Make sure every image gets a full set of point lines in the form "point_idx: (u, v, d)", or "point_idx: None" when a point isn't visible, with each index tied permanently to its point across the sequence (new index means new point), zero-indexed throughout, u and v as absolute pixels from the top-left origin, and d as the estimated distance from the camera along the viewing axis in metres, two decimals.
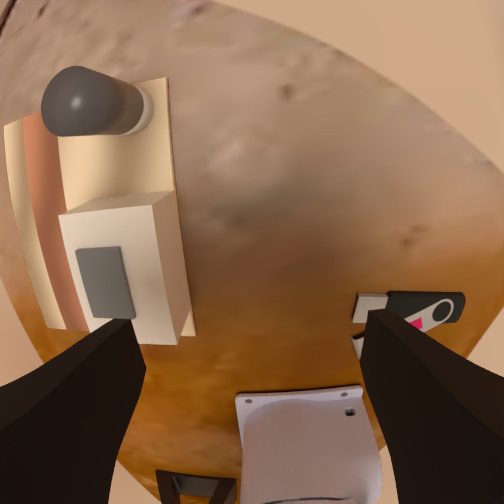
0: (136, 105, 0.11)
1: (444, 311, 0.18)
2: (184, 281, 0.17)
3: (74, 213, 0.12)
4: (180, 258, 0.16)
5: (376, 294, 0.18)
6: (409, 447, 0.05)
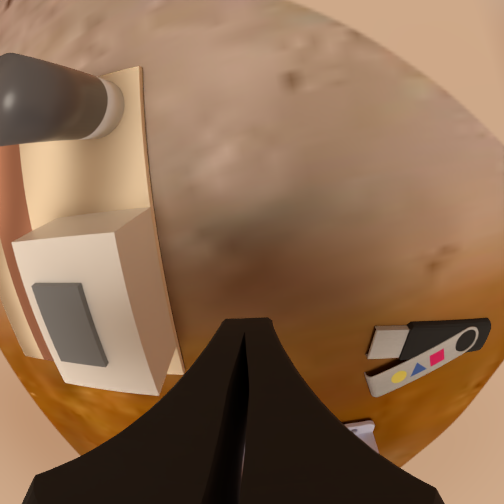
0: (95, 100, 0.08)
1: (468, 340, 0.14)
2: (167, 316, 0.14)
3: (27, 240, 0.09)
4: (162, 289, 0.13)
5: (395, 326, 0.14)
6: None
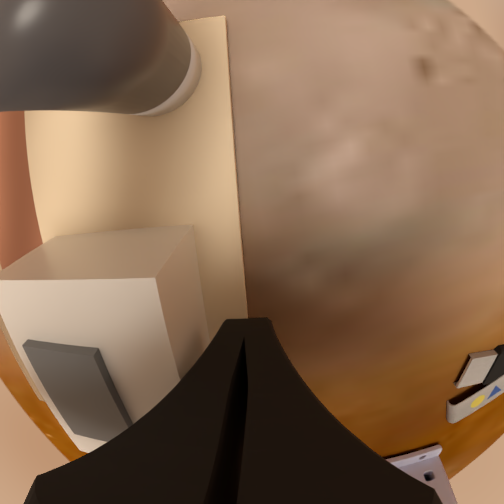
0: (182, 45, 0.05)
1: None
2: None
3: (10, 279, 0.06)
4: (207, 336, 0.10)
5: (486, 352, 0.11)
6: None
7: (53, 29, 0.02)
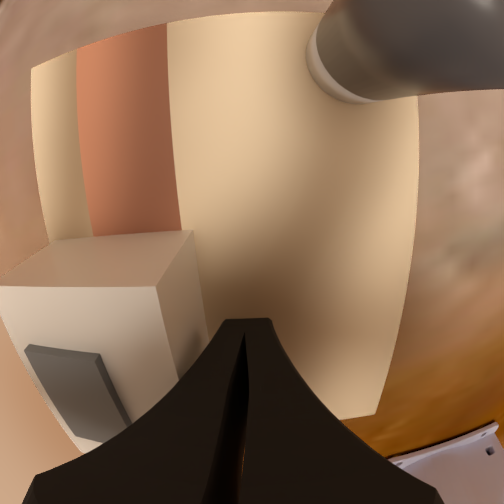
0: None
1: None
2: None
3: (11, 285, 0.06)
4: (206, 340, 0.10)
5: None
6: None
7: None
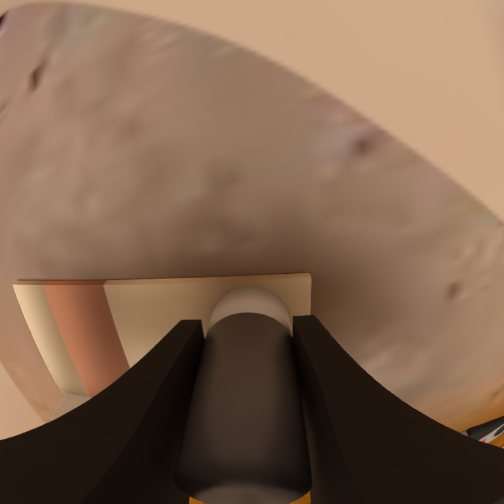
0: None
1: (503, 428, 0.14)
2: None
3: None
4: None
5: None
6: (314, 465, 0.05)
7: (290, 498, 0.05)
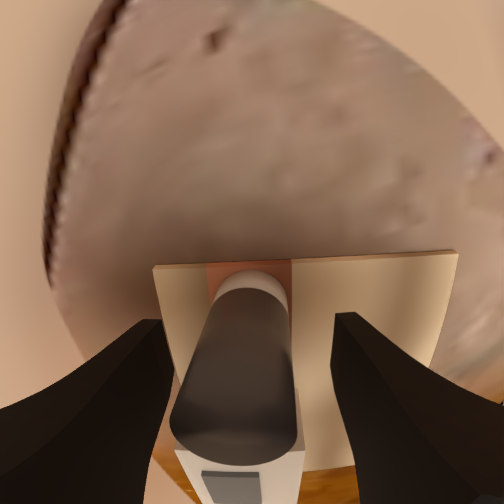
0: None
1: None
2: None
3: None
4: None
5: None
6: (369, 456, 0.05)
7: (278, 451, 0.05)
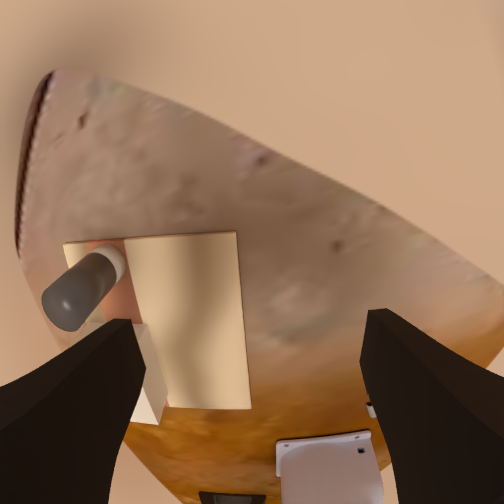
0: (109, 277, 0.16)
1: None
2: (162, 378, 0.22)
3: None
4: (157, 365, 0.21)
5: None
6: (409, 447, 0.05)
7: (78, 322, 0.13)
